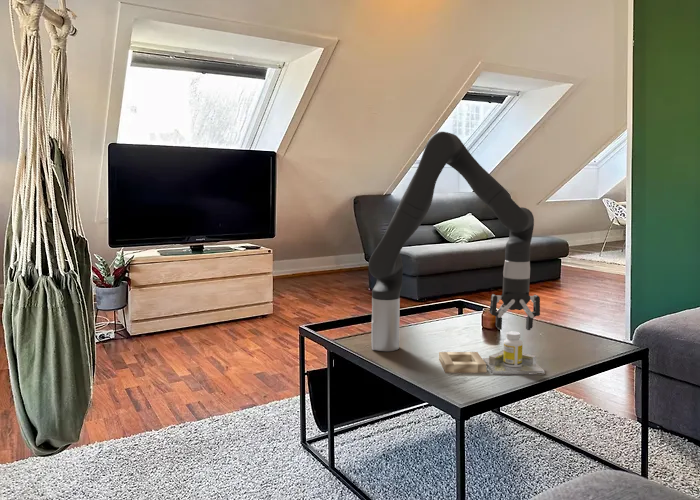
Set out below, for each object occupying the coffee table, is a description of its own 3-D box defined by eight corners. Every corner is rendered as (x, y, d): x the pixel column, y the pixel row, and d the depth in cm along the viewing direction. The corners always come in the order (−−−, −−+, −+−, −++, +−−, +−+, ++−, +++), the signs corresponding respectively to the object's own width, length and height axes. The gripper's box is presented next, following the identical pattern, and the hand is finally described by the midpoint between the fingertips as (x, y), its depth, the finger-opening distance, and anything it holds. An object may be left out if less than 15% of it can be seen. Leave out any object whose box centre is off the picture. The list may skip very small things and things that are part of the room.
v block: (492, 374, 164) (492, 362, 164) (482, 361, 177) (483, 350, 176) (544, 374, 164) (544, 362, 164) (530, 360, 177) (531, 350, 176)
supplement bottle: (518, 361, 172) (519, 330, 171) (524, 367, 167) (525, 335, 166) (500, 362, 172) (501, 330, 171) (506, 367, 167) (507, 335, 166)
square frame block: (445, 372, 166) (445, 364, 166) (438, 359, 178) (439, 352, 177) (486, 372, 166) (486, 364, 166) (477, 359, 178) (477, 352, 177)
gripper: (495, 277, 163) (493, 332, 165) (545, 278, 163) (542, 333, 165) (489, 273, 170) (486, 325, 172) (536, 273, 170) (533, 326, 172)
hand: (513, 329), depth 168 cm, fingers open, 8 cm apart
